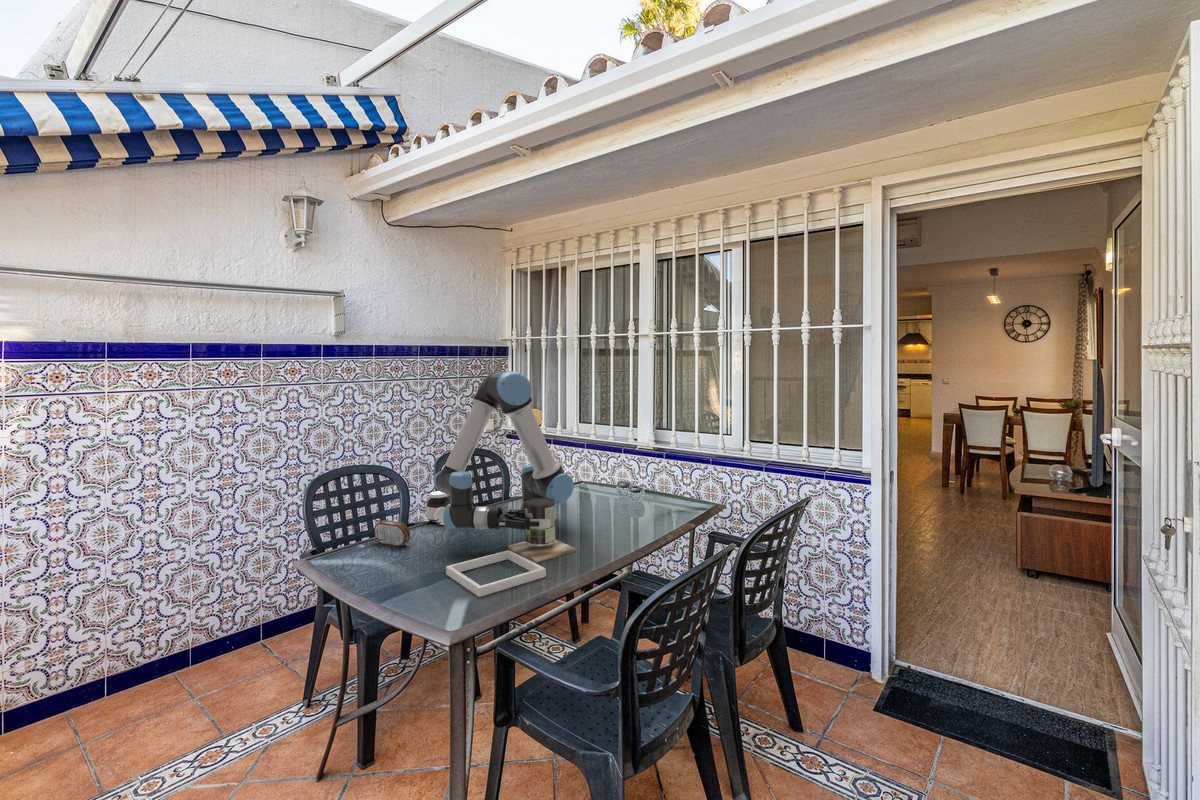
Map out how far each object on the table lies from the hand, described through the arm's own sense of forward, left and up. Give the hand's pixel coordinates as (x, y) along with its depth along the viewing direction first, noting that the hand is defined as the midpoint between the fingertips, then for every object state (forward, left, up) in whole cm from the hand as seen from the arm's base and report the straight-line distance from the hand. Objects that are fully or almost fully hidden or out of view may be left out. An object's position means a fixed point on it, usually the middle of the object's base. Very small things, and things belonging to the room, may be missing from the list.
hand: (552, 518), depth 192 cm
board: (-3, -3, -11) cm, 12 cm away
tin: (-44, -40, -11) cm, 60 cm away
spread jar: (-59, -15, -11) cm, 62 cm away
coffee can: (-3, -3, -8) cm, 9 cm away
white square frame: (+7, -26, -11) cm, 29 cm away
